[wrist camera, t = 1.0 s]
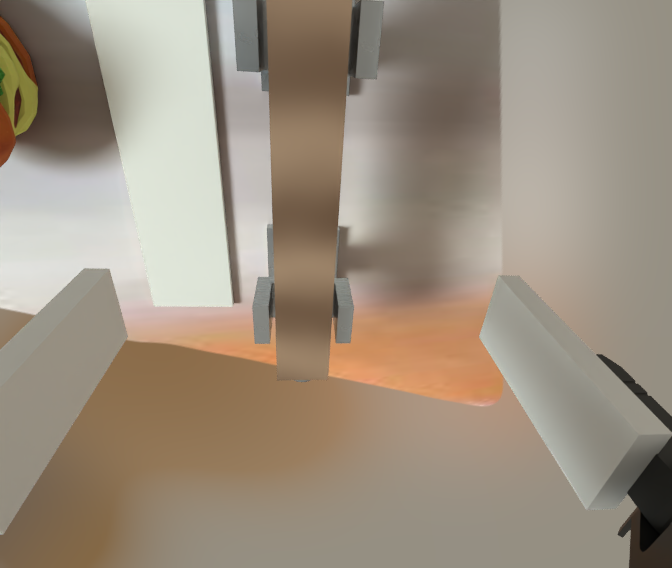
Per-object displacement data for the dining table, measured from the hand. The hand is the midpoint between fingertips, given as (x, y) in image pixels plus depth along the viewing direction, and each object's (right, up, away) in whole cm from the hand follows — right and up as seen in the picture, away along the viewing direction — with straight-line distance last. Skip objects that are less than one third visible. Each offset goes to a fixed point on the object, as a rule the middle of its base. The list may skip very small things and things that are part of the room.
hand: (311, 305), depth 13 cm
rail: (-1, +6, +10) cm, 12 cm away
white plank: (-11, +10, +15) cm, 22 cm away
